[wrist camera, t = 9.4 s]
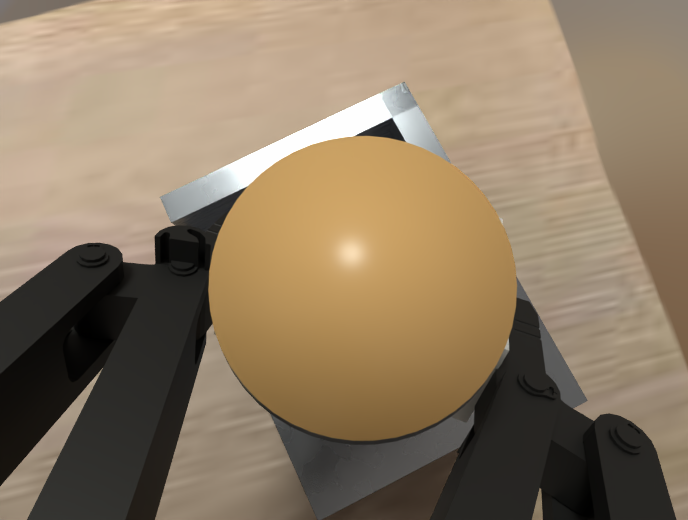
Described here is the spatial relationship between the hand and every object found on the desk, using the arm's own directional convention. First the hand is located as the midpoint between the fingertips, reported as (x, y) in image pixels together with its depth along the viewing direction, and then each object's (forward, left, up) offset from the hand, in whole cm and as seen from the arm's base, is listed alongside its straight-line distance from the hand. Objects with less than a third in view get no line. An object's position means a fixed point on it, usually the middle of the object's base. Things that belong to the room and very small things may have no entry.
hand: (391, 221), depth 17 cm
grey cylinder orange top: (+3, -3, -4) cm, 5 cm away
